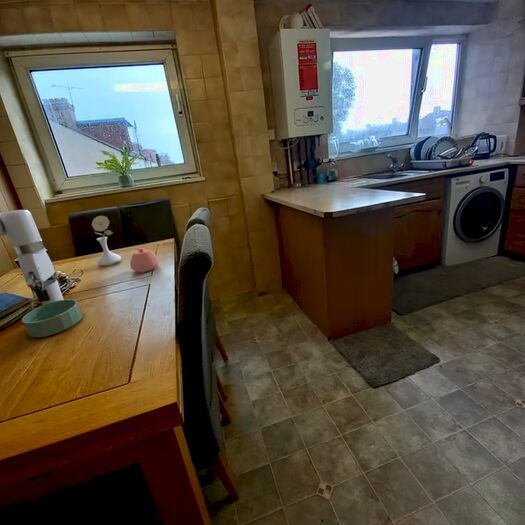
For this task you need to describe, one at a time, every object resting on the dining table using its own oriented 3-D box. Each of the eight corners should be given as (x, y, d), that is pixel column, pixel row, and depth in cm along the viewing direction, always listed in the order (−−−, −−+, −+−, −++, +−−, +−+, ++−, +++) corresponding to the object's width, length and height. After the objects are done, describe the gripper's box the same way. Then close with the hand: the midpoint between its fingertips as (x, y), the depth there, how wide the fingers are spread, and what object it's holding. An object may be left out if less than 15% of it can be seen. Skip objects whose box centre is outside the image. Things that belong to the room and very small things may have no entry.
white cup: (61, 302, 104) (51, 278, 100) (70, 305, 100) (60, 280, 97) (41, 311, 98) (30, 286, 95) (50, 315, 95) (38, 288, 92)
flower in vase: (92, 268, 140) (75, 219, 132) (109, 260, 151) (94, 214, 142) (114, 267, 137) (98, 217, 128) (129, 259, 147) (115, 212, 139)
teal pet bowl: (19, 344, 80) (10, 327, 78) (43, 319, 93) (37, 304, 91) (72, 332, 82) (66, 316, 80) (89, 309, 95) (83, 295, 94)
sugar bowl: (136, 276, 120) (130, 254, 117) (128, 269, 131) (122, 249, 127) (164, 268, 127) (158, 246, 124) (154, 261, 138) (148, 242, 134)
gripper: (31, 243, 99) (50, 288, 105) (0, 258, 83) (25, 310, 89) (54, 239, 100) (72, 284, 106) (28, 253, 84) (51, 304, 90)
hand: (50, 295), depth 98 cm, fingers open, 7 cm apart
